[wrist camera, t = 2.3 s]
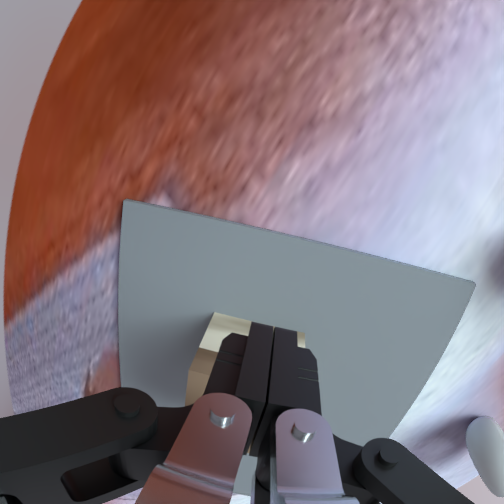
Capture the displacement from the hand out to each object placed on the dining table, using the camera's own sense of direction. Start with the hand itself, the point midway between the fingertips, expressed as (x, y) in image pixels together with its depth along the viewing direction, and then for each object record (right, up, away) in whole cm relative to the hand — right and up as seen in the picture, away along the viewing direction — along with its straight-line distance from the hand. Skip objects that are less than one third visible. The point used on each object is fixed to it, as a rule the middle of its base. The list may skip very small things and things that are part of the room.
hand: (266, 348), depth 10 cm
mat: (0, -10, +14) cm, 17 cm away
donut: (+23, -14, +12) cm, 30 cm away
